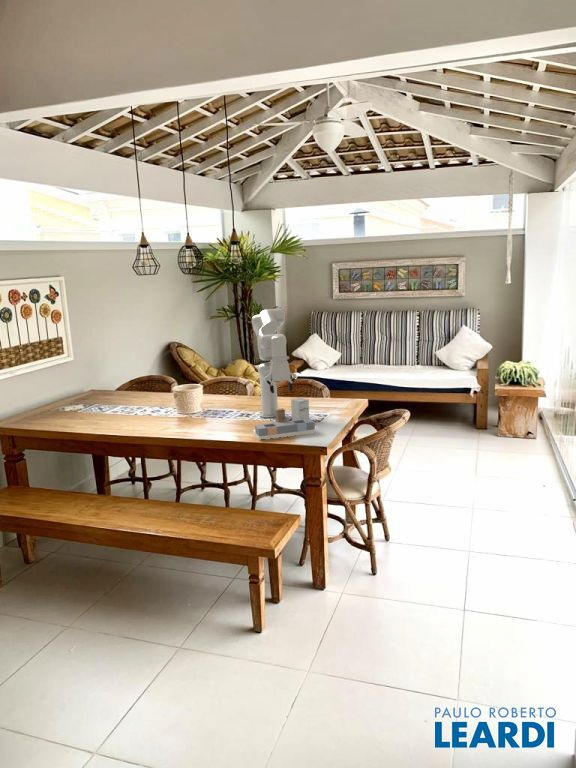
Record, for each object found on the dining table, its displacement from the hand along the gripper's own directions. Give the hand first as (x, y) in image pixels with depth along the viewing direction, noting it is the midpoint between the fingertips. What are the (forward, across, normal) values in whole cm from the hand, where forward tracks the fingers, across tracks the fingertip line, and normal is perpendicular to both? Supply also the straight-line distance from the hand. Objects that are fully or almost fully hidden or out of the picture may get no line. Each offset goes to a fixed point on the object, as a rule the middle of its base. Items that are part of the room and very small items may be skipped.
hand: (281, 391), depth 314 cm
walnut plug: (+20, +1, -2) cm, 20 cm away
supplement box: (+22, -16, -17) cm, 32 cm away
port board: (+22, +1, +3) cm, 22 cm away
